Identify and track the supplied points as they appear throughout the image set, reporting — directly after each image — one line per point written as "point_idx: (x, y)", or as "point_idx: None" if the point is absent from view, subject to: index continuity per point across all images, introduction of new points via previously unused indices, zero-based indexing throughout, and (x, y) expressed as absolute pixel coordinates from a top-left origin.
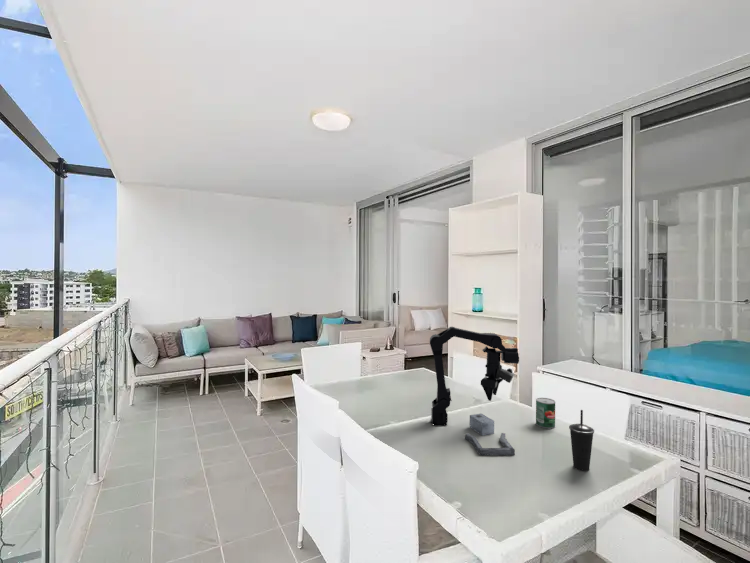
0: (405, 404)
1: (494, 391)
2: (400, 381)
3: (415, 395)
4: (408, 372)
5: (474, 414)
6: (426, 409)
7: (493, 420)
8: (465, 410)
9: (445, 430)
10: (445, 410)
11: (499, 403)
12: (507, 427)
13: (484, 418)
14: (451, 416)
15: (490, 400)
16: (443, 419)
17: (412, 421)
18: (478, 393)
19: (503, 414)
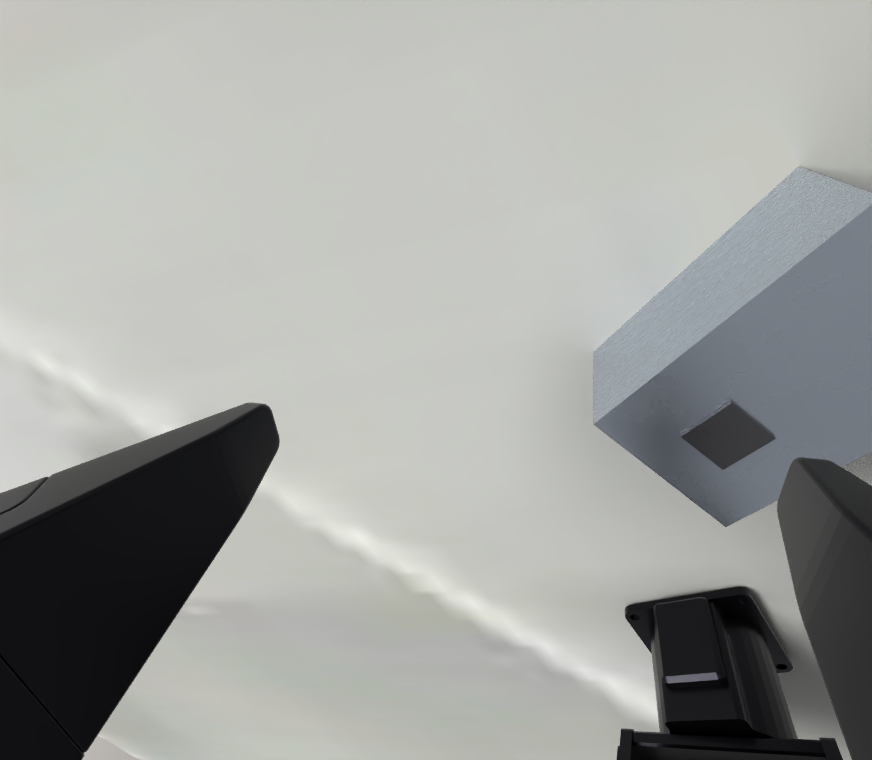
0: (468, 755)
1: (227, 478)
2: (207, 752)
3: (313, 717)
4: None
5: (672, 484)
6: (476, 684)
7: (868, 212)
8: (335, 503)
9: None
10: (740, 723)
11: (20, 314)
12: (509, 65)
13: (804, 359)
14: (511, 569)
15: (831, 472)
16: (748, 651)
17: None
18: (11, 468)
19: (191, 223)
